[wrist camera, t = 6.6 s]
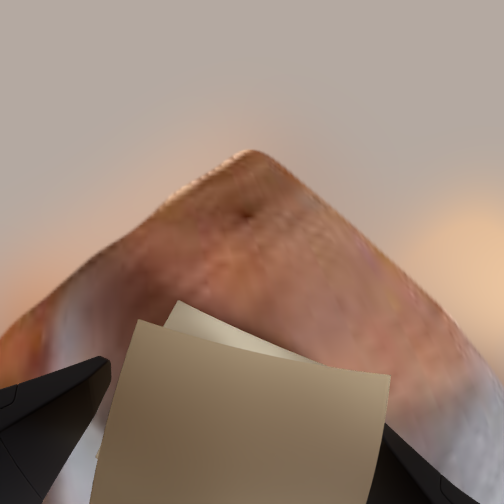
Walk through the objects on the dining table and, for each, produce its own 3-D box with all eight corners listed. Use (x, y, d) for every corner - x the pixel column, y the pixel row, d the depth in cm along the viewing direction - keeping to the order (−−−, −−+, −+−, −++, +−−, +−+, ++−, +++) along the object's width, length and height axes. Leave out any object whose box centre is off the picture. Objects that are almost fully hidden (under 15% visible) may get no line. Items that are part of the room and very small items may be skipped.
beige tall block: (256, 473, 13) (335, 581, 2) (172, 453, 13) (84, 538, 2) (274, 397, 16) (390, 375, 5) (192, 377, 16) (138, 318, 5)
